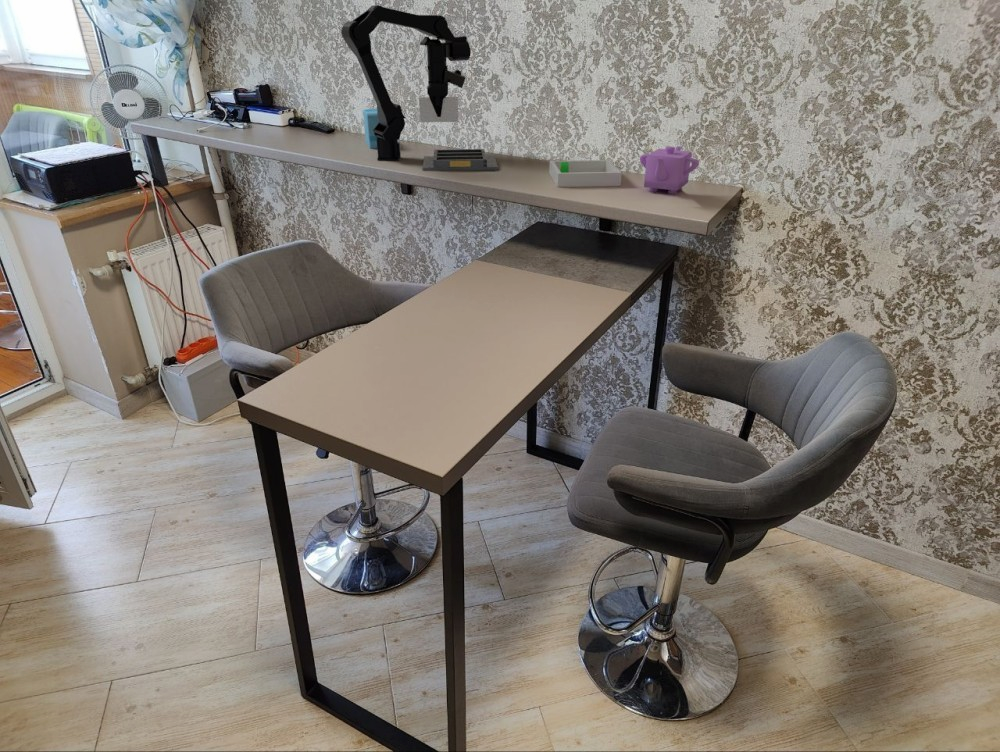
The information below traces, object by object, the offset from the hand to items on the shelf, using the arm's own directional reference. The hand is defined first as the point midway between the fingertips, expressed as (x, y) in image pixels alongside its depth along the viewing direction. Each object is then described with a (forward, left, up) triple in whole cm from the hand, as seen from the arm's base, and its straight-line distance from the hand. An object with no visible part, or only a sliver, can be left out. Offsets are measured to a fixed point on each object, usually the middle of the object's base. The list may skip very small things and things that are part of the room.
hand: (439, 116), depth 216 cm
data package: (-22, +14, -12) cm, 29 cm away
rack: (+6, -16, -12) cm, 20 cm away
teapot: (+59, -52, -12) cm, 79 cm away
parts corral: (+40, -38, -12) cm, 56 cm away
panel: (0, 0, -2) cm, 2 cm away
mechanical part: (+31, -45, -14) cm, 57 cm away
